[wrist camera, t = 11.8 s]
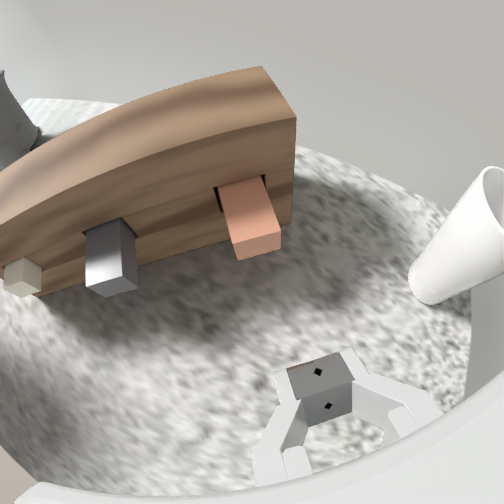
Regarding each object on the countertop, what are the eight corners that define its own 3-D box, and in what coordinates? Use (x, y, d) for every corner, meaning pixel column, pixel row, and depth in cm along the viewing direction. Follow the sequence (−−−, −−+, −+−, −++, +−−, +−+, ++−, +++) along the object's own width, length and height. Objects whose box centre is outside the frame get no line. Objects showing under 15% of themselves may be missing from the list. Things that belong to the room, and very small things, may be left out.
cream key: (40, 290, 23) (21, 280, 20) (21, 297, 23) (3, 288, 20) (43, 244, 25) (27, 232, 22) (24, 253, 25) (8, 241, 22)
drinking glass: (460, 281, 25) (547, 213, 12) (431, 326, 24) (534, 273, 10) (420, 240, 28) (490, 150, 14) (388, 281, 26) (466, 195, 13)
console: (290, 222, 30) (296, 116, 17) (37, 297, 29) (-42, 252, 16) (268, 167, 33) (261, 66, 21) (40, 244, 32) (-24, 190, 19)
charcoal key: (139, 288, 22) (122, 275, 20) (105, 297, 22) (85, 286, 19) (134, 232, 25) (119, 215, 22) (102, 242, 24) (86, 227, 22)
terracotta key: (280, 248, 23) (281, 230, 20) (237, 260, 23) (232, 244, 20) (261, 194, 25) (259, 172, 22) (223, 205, 25) (216, 184, 22)
